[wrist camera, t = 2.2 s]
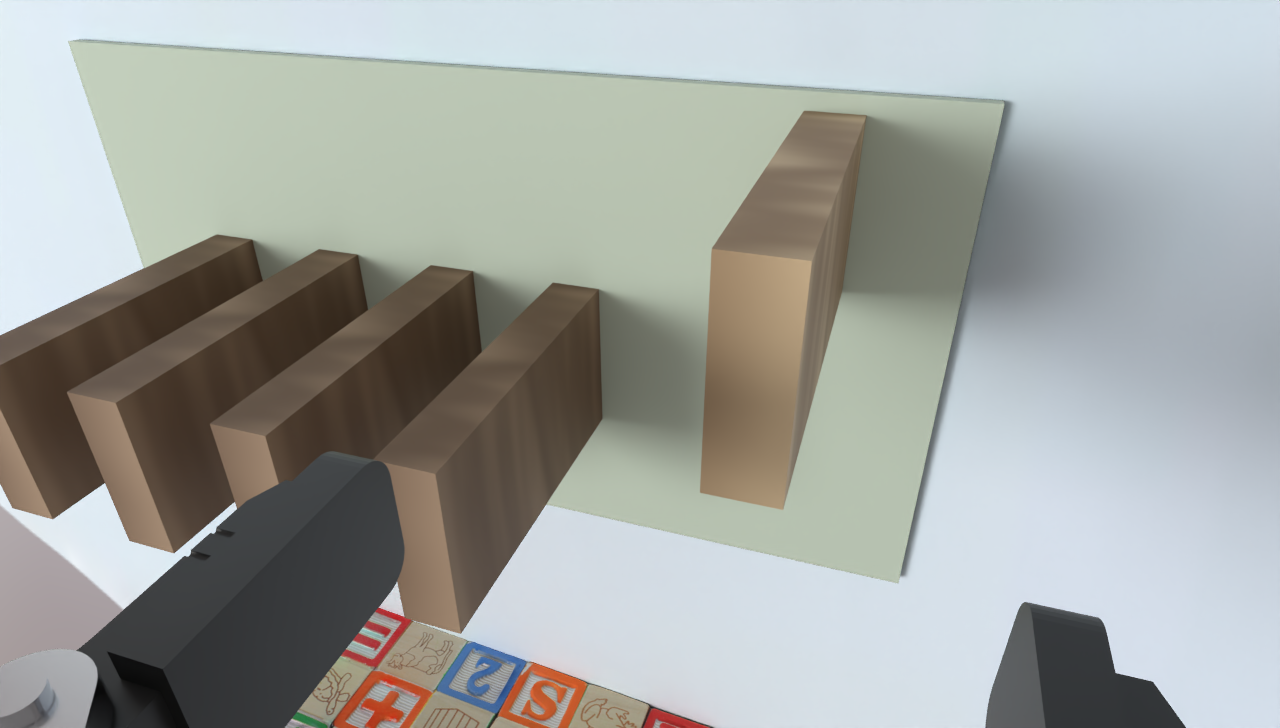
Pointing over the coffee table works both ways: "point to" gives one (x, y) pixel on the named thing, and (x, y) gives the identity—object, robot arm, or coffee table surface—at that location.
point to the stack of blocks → (458, 687)
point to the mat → (584, 243)
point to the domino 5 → (776, 308)
